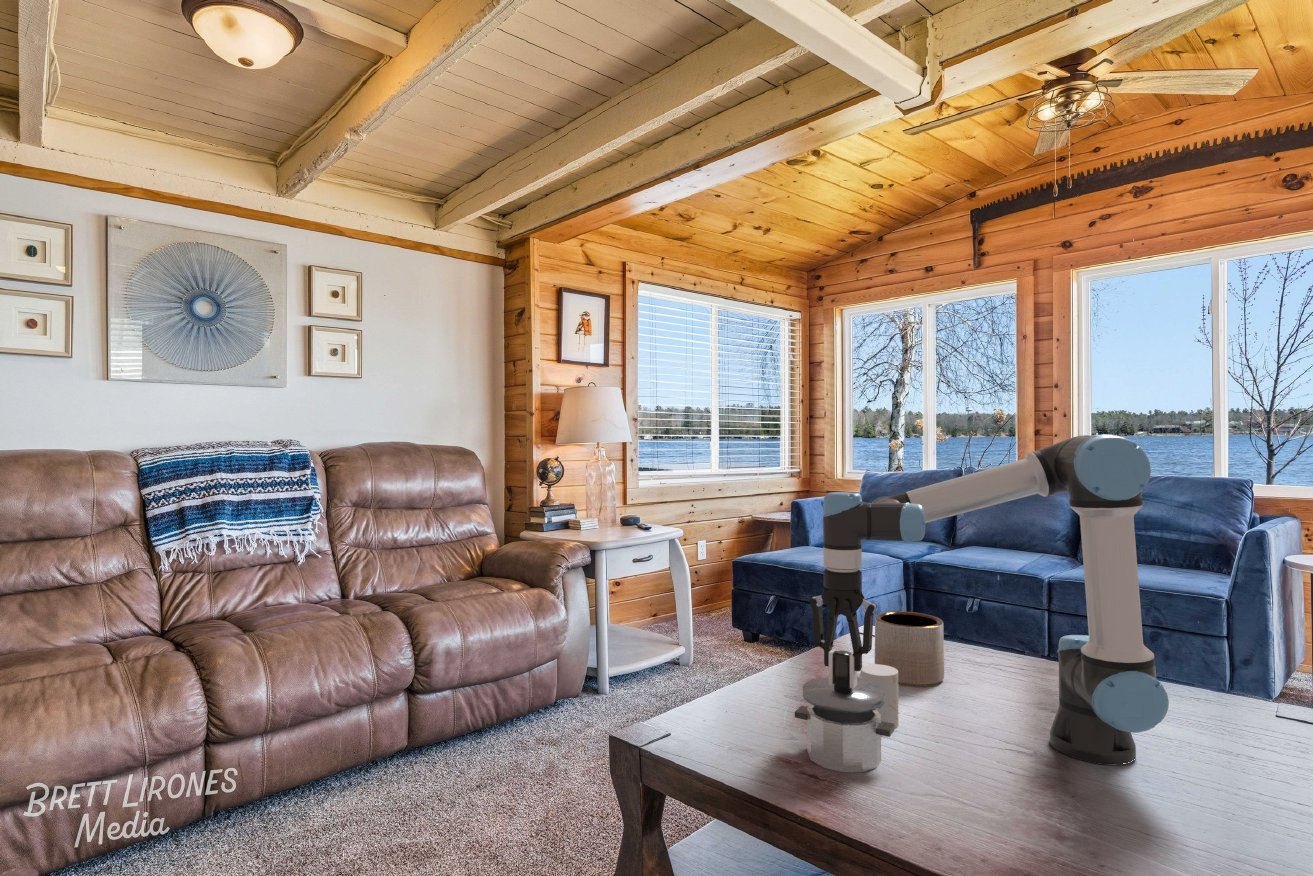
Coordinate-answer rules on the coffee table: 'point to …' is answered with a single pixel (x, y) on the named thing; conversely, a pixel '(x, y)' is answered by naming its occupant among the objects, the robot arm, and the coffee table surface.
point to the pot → (844, 738)
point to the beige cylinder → (884, 689)
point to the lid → (843, 690)
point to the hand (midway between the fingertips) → (843, 684)
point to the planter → (911, 646)
